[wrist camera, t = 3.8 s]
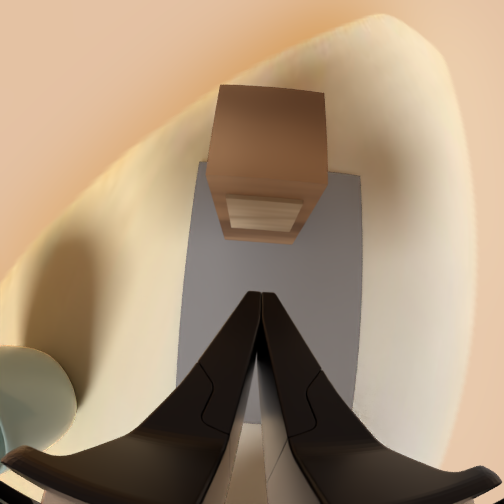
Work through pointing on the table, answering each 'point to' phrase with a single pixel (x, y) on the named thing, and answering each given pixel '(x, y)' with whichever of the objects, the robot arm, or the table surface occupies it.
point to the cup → (33, 400)
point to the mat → (280, 282)
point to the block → (267, 161)
